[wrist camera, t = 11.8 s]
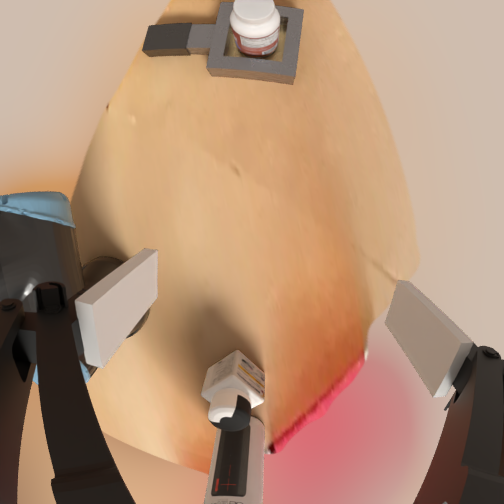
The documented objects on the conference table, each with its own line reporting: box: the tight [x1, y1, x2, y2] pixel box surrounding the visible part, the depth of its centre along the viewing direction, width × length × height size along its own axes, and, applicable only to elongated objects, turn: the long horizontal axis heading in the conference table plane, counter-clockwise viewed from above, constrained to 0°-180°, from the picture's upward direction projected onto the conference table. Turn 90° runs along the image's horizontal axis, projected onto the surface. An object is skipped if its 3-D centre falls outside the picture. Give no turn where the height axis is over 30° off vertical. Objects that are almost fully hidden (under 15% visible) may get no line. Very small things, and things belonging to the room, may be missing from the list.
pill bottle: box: [230, 0, 280, 58], centre depth 28 cm, size 6×6×11 cm
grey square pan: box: [142, 2, 304, 85], centre depth 33 cm, size 23×12×4 cm, turn 82°
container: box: [201, 350, 265, 431], centre depth 44 cm, size 8×8×13 cm
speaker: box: [204, 416, 265, 504], centre depth 43 cm, size 11×10×26 cm
